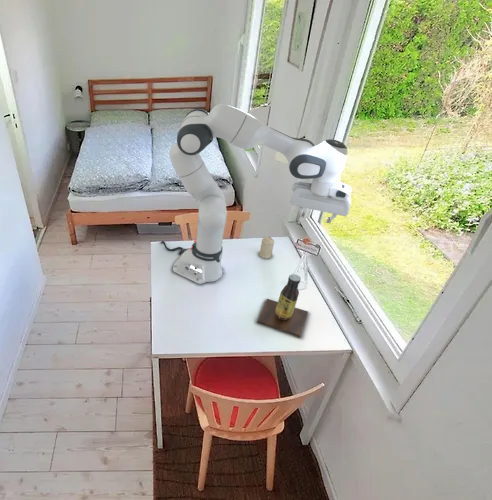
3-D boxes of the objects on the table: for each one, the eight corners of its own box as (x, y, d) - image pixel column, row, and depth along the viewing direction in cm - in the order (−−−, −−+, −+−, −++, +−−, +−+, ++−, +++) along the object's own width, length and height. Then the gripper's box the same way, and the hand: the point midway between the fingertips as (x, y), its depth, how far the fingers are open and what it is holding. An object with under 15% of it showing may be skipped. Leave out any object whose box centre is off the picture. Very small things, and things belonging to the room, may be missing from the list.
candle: (271, 259, 180) (275, 241, 174) (259, 258, 181) (262, 240, 175) (270, 252, 184) (274, 235, 179) (259, 251, 185) (262, 234, 180)
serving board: (257, 322, 148) (257, 320, 147) (266, 300, 157) (267, 298, 157) (300, 337, 141) (300, 335, 140) (307, 313, 151) (308, 311, 150)
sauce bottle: (271, 312, 150) (280, 273, 138) (283, 308, 152) (294, 269, 140) (282, 323, 145) (293, 284, 133) (295, 318, 147) (307, 279, 135)
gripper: (292, 183, 138) (285, 216, 146) (354, 195, 129) (343, 230, 137) (296, 177, 142) (288, 209, 150) (356, 188, 133) (345, 221, 141)
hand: (315, 219), depth 143 cm, fingers open, 8 cm apart
